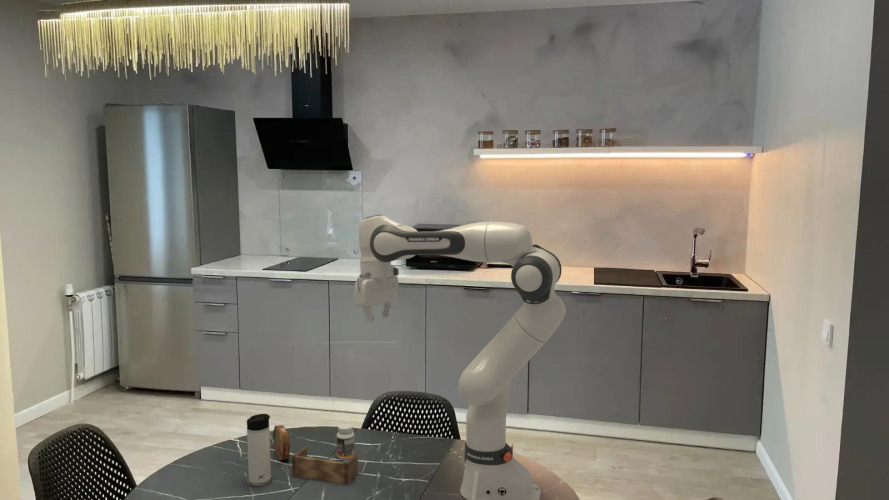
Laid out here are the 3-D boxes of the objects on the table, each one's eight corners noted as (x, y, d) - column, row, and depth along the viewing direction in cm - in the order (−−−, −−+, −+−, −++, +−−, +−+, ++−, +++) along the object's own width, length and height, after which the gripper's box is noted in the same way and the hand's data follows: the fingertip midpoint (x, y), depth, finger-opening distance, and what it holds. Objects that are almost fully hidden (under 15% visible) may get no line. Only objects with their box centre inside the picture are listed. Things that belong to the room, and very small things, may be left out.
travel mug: (266, 487, 182) (263, 420, 180) (244, 485, 183) (242, 418, 181) (276, 477, 188) (273, 412, 186) (255, 475, 189) (253, 410, 187)
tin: (273, 446, 210) (272, 421, 209) (282, 444, 211) (281, 420, 210) (281, 465, 196) (280, 438, 195) (292, 463, 198) (291, 437, 197)
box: (358, 473, 190) (357, 454, 190) (347, 484, 184) (347, 464, 183) (304, 465, 196) (304, 446, 195) (292, 475, 189) (292, 456, 188)
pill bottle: (333, 455, 203) (332, 425, 202) (349, 450, 207) (348, 421, 205) (342, 461, 199) (341, 431, 197) (358, 456, 202) (357, 426, 201)
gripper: (367, 274, 173) (369, 324, 173) (401, 269, 191) (403, 314, 192) (347, 274, 175) (350, 324, 175) (383, 269, 194) (385, 314, 194)
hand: (378, 319), depth 184 cm, fingers open, 8 cm apart
